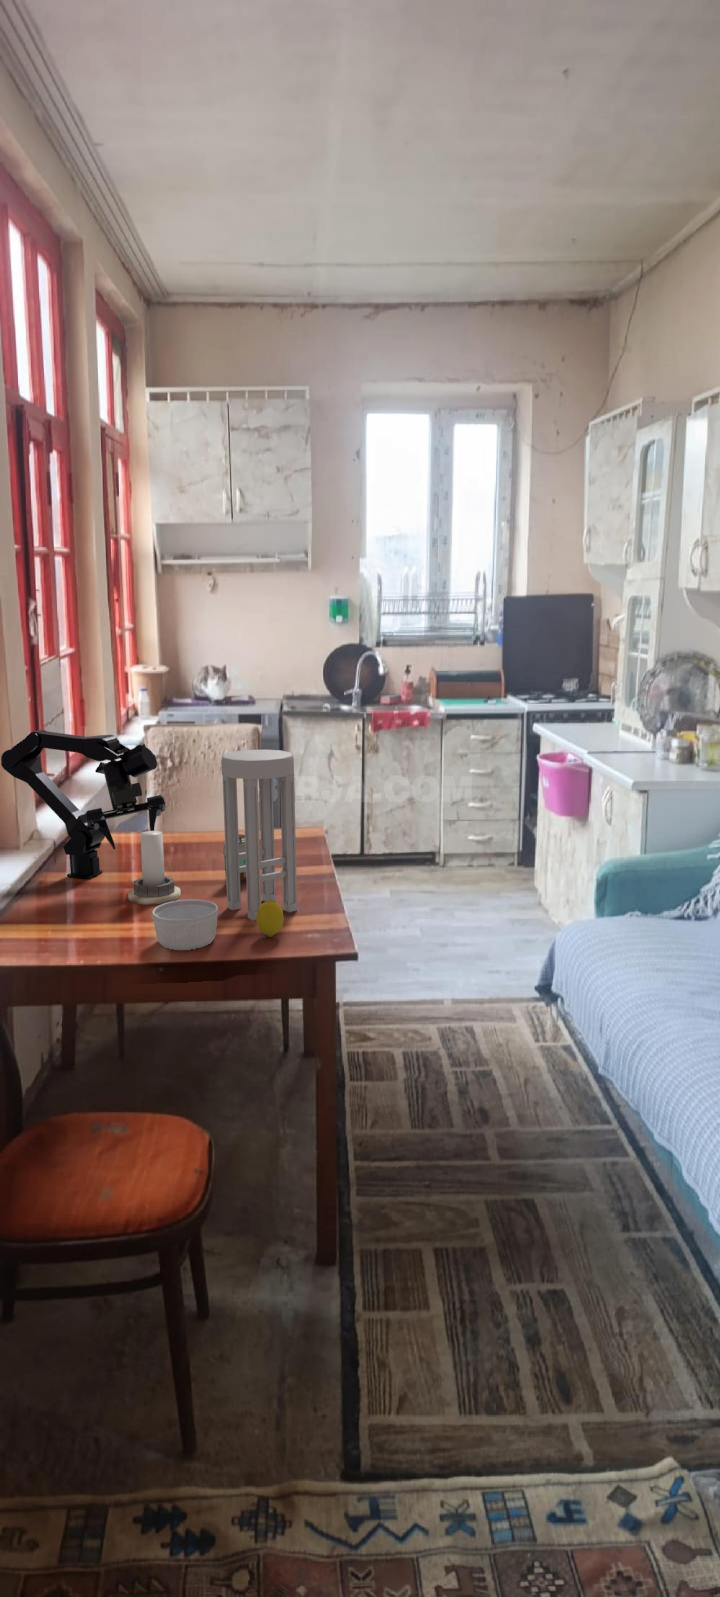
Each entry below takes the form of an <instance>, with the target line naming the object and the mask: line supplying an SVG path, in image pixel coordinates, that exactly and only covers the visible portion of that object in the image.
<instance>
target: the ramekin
mask: <svg viewBox="0 0 720 1597" xmlns="http://www.w3.org/2000/svg"><path fill="white" fill-rule="evenodd" d="M218 916H219V906H218V905H217V904H216V903H215V902H212V901H209V900H205V899H204V900H203V899H177V900H174V901H171V902H168V903H162V904H158V905H157V906H155V908H154V909H152V911H151V918H152V921H153V924H154V931H155V936H156V939H157V941H158V944H160V945H161V946H162V947H163V948H165V949H167V948H169V949H168V950H172V949H173V950H174V951H191V949H193V950H197V949H196V948H198V949H202V948H204V946H205V947H206V945H207V946H208V944H209V945H210V944H211V943H213V941H214V940H215V937H216V935H217V928H218V927H217V926H218Z"/></svg>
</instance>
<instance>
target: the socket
mask: <svg viewBox="0 0 720 1597" xmlns="http://www.w3.org/2000/svg"><path fill="white" fill-rule="evenodd" d="M165 882H166V884H163V885H158V886H144V885H142V883H143V877H140V878H137V879H136V880H134V881H133V884H132V885H133V888H132V889H131V890H129V891H128V893H127V898H128V901H129V902H131V903H133V904H137V905H148V906H149V905H161V904H164V903H168V902H172V901H178V900H179V899H180V898H181V894H182V893H181V888H180V887H179V886H175V878H173V877H171V876H165Z"/></svg>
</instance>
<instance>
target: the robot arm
mask: <svg viewBox="0 0 720 1597" xmlns="http://www.w3.org/2000/svg"><path fill="white" fill-rule="evenodd" d="M45 749H48V750H49V749H50V750H56V751H64V752H71V753H77V754H80V755H82V756H84V757H85V758H88V759H90V760H93V761H96V762H99V765H98V766H97V767H96V768H95V773H97V774H102V775H104V778H105V781H106V788H107V790H108V796H109V800H110V803H111V807H112V809H110V810H105V811H103V809H102V807H97V808H94V809H90V810H86V812H83V811H81V810H80V809H79V808H78V807H77V806H76V805H75V804H74V802H72V800H71V799H70V798H69V797H68V796H67V795H66V794H65V793H64V792H63V791H62V790H61V788H60V787H58V785H56V783H54V782H53V780H51V778H50V777H49V776H48V775H47V774H46V773H45V772H44V771H43V769H42V765H41V761H40V759H39V758H38V757H39V756H40V755H41V754H42V752H43V751H44V750H45ZM104 761H107V762H104ZM0 762H1V763H0V764H1V767H2V768H3V770H4V771H6V773H8V774H9V775H10V776H12V777H13V778H15V779H17V780H20V781H22V782H24V783H26V784H27V785H28V786H29V787H30V788H31V790H33V791H34V793H36V794H37V796H39V798H40V799H41V800H42V801H44V803H45V804H46V805H47V806H48V807H49V808H50V809H51V811H53V813H55V815H56V816H57V817H58V818H59V819H60V820H61V821H62V822H63V824H64V825H65V829H66V833H67V835H68V837H69V840H68V841H66V843H65V844H64V845H63V847H62V848H63V850H64V853H65V855H66V856H67V855H69V866H70V869H69V870H70V872H69V873H67V874H66V877H69V878H78V879H84V880H85V879H90V878H93V877H94V876H98V875H100V874H103V870H101V869H100V857H99V856H98V855H99V854H98V850H97V849H100V848H101V846H102V842H103V841H104V839H105V838H106V840H107V842H108V843H109V844H110V846H111V847H112V849H113V850H116V845H115V840H114V839H113V836H112V834H111V831H110V829H109V825H108V823H107V820H110V819H114V818H117V817H124V816H129V815H132V814H136V813H141V812H146V811H147V812H148V816H147V817H148V825H149V831H155V825H156V820H157V817H159V816H161V815H162V814H161V813H162V812H165V811H166V801H165V798H164V796H162V795H161V794H159V795H154V796H150V797H147V798H146V802H142V803H139V804H138V803H137V802H138V800H137V797H142V796H143V792H142V787H141V783H140V782H135V783H134V782H133V783H132V780H131V777H132V778H138V777H140V776H142V775H144V774H145V775H146V773H150V772H151V771H153V770H155V769H157V767H158V759H157V756H156V755H155V754H154V753H153V751H152V750H151V749H150V748H148V747H147V746H146V744H145V743H142V744H138V745H136V746H134V747H133V748H130V747H128V746H126V745H125V744H123V743H122V742H120V740H119V739H118V737H117V736H115V735H113V734H100V735H91V736H88V735H87V736H84V735H76V734H70V733H69V734H68V733H64V732H63V733H62V732H55V731H47V730H45V729H39V730H34V731H32V732H30V733H29V734H28V735H27V736H26V737H24V738H23V739H22V740H21V741H19V742H18V743H16V744H15V745H13V746H12V747H11V749H6V750H5V751H4V752H3V753H2V754H1V757H0ZM130 776H131V777H130Z"/></svg>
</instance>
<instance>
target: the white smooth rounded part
mask: <svg viewBox="0 0 720 1597" xmlns="http://www.w3.org/2000/svg"><path fill="white" fill-rule="evenodd" d="M139 835H140V852H141V854H140V855H141V869H142V870H141V871H142V878H143V883H142V885H144V886H158V885H163V884H166V882H165V875H166V874H165V859H164V841H163V839H164V838H163V832H162V831H161V830H154V831H150V830H148V831H143V832H141V833H139Z"/></svg>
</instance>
